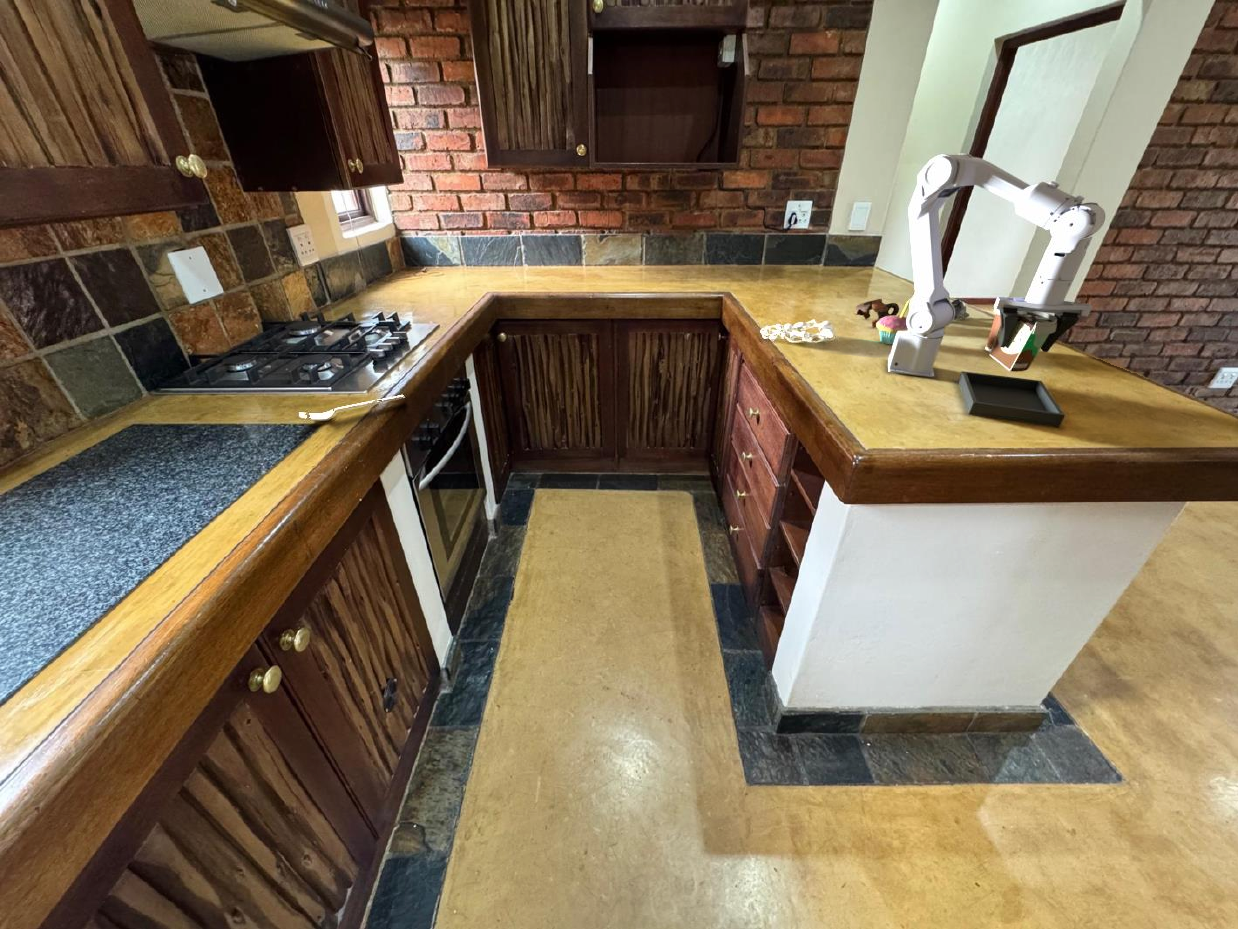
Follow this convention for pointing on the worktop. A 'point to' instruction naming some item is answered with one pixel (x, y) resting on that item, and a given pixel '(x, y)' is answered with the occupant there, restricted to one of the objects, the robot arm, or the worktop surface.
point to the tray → (1009, 399)
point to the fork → (332, 413)
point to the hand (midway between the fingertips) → (1022, 348)
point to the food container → (1024, 340)
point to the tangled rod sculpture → (804, 336)
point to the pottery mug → (876, 310)
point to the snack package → (959, 309)
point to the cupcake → (892, 326)
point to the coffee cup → (994, 330)
